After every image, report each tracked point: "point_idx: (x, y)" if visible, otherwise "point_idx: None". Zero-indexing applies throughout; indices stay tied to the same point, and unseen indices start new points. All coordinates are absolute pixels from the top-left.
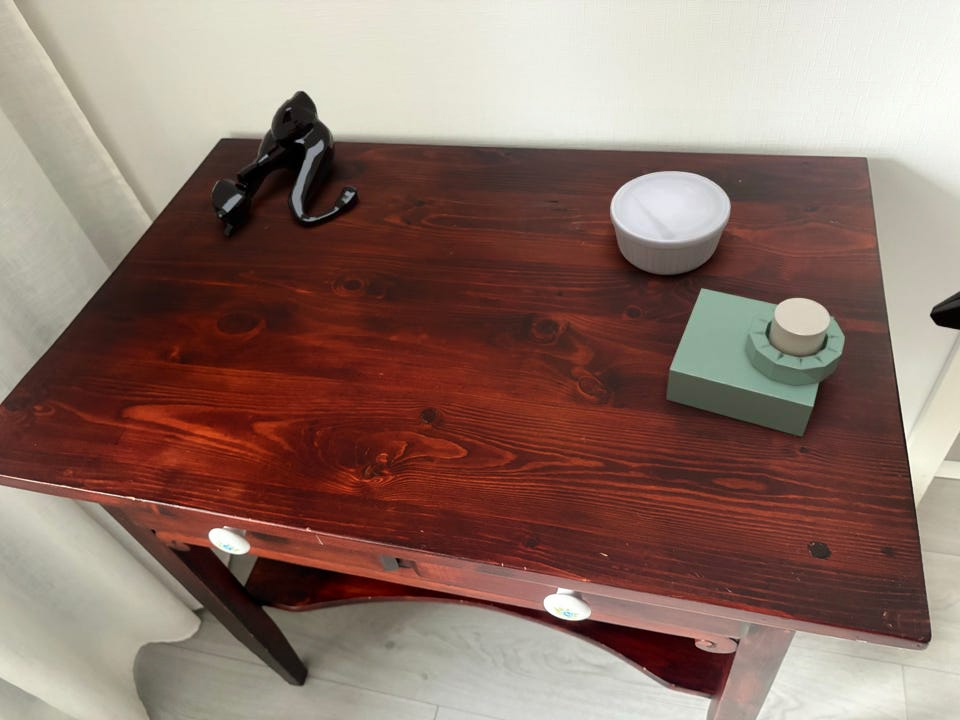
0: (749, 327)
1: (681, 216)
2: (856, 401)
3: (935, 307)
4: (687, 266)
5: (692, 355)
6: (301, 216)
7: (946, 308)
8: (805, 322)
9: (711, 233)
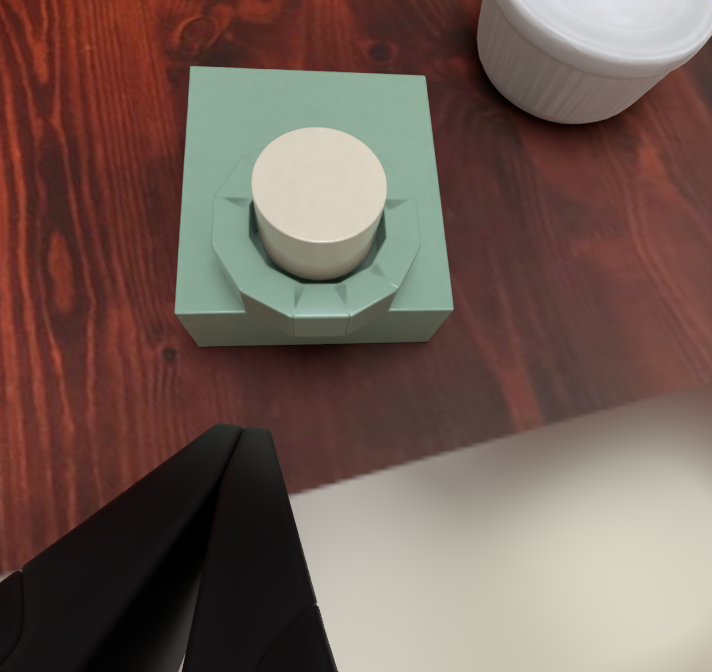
0: None
1: None
2: (320, 421)
3: (247, 433)
4: (508, 84)
5: (239, 92)
6: None
7: (176, 465)
8: (298, 191)
9: (567, 45)
